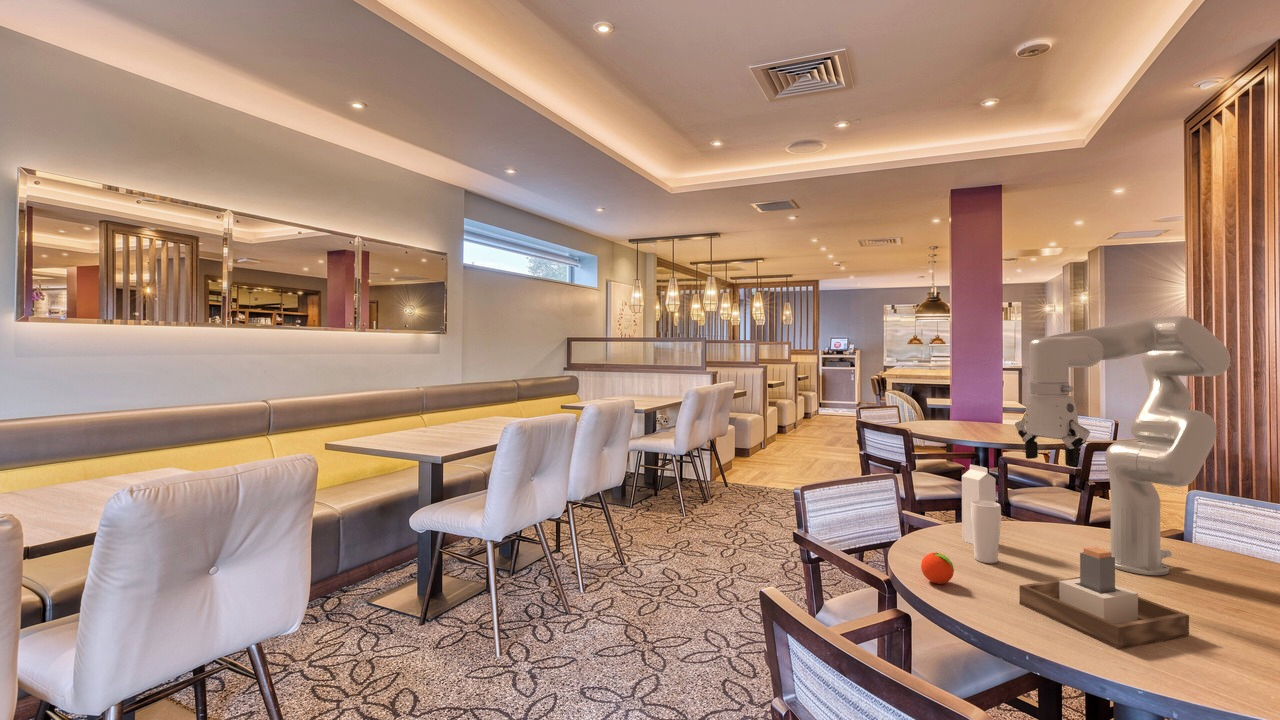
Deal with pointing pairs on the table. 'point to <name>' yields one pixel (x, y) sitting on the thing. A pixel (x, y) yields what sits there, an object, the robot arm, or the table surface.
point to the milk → (975, 495)
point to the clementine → (937, 568)
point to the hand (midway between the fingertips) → (1051, 461)
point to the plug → (1097, 570)
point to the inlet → (1101, 601)
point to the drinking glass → (985, 530)
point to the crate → (1147, 629)
